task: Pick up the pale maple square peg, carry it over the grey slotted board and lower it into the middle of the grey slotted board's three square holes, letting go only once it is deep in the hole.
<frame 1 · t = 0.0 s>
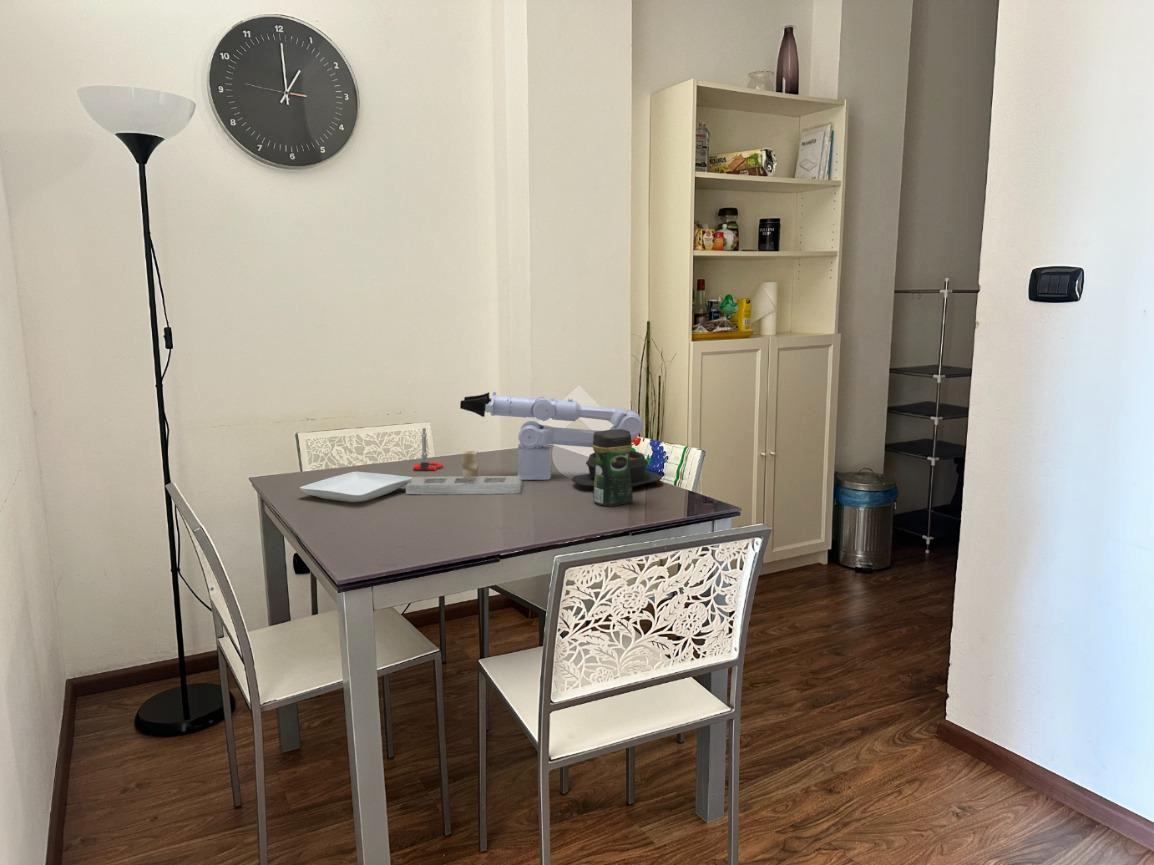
hand: (462, 402, 231), 22 cm above the table, tool horizontal, fingers open, 7 cm apart
salad plate: (357, 494, 217), on the table, touching grey slotted board
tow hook: (428, 468, 249), on the table
grey slotted board: (465, 489, 221), on the table
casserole: (616, 485, 225), on the table
coffee jar: (612, 503, 206), on the table
peg: (470, 480, 232), on the table
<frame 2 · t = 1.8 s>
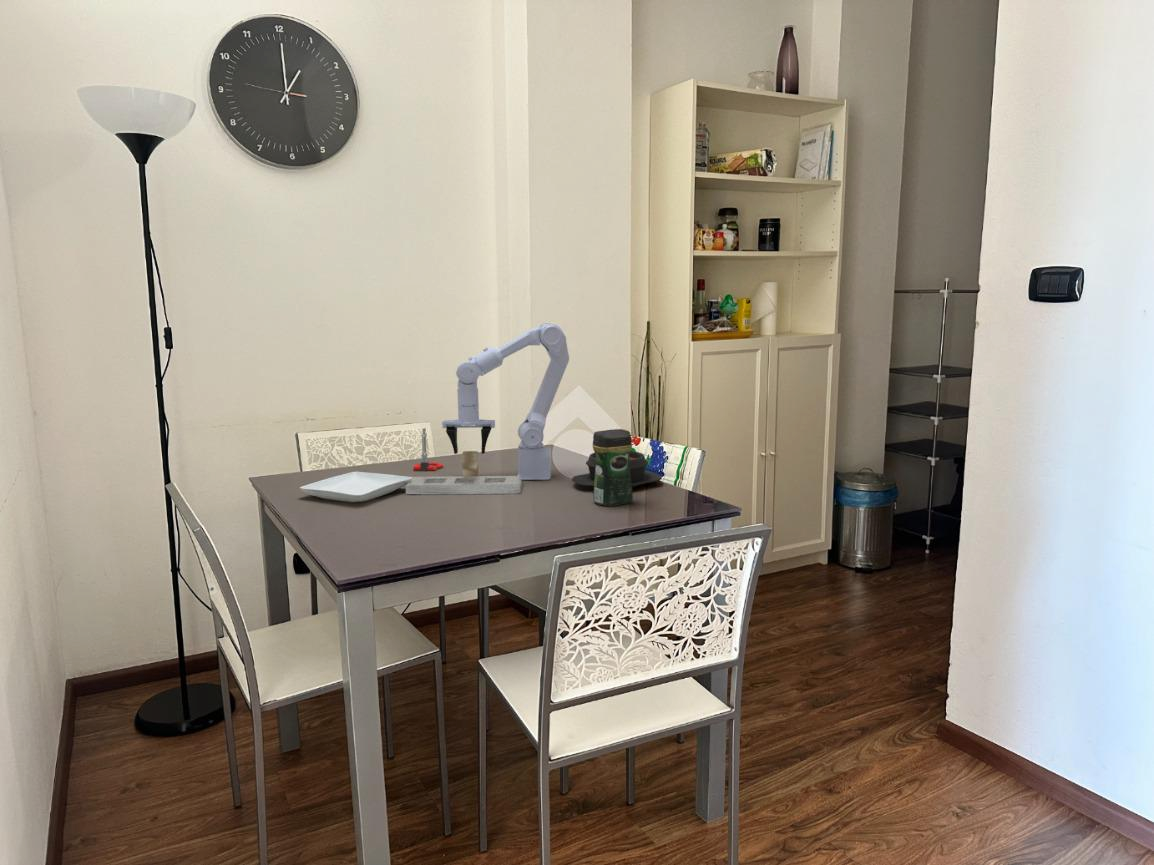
hand: (469, 453, 231), 8 cm above the table, tool pointing down, fingers open, 7 cm apart
nothing on the table moved.
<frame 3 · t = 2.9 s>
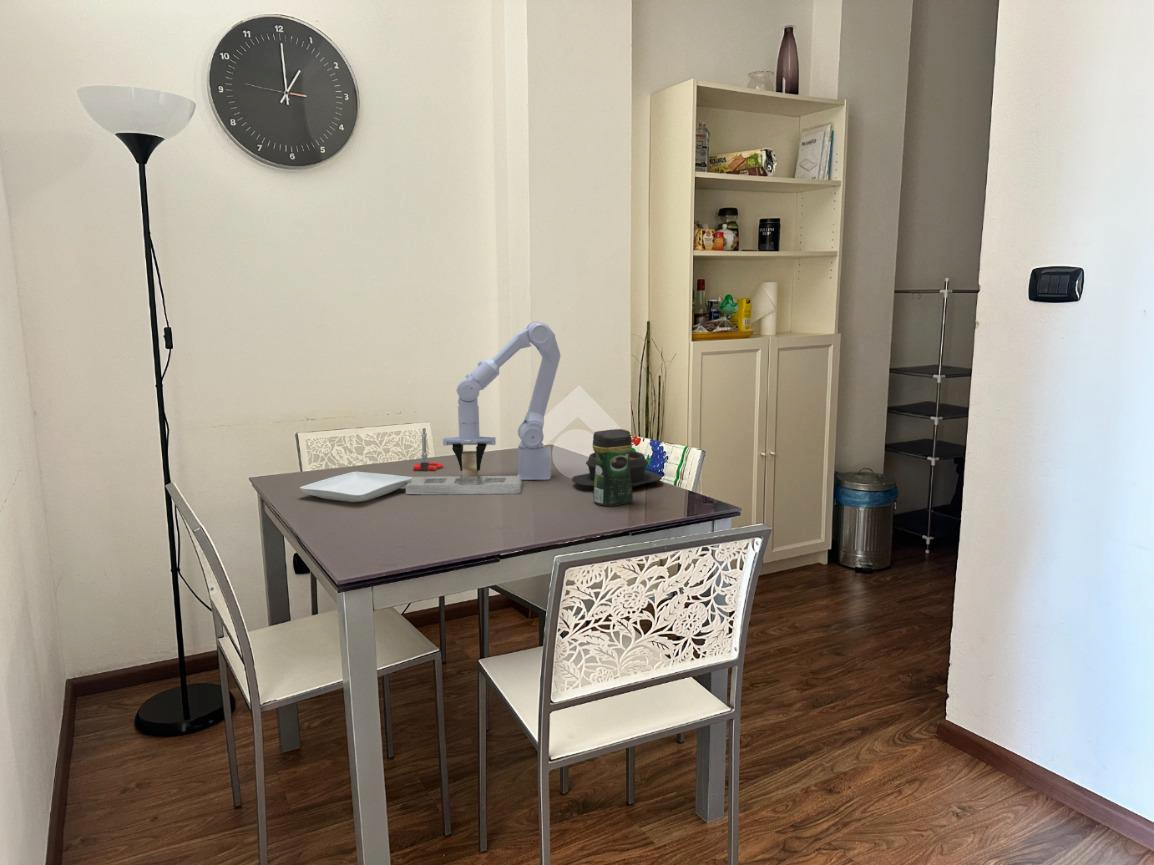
hand: (470, 470, 232), 3 cm above the table, tool pointing down, fingers closed on peg, 4 cm apart
peg: (470, 480, 232), on the table, touching gripper
everything else where it was.
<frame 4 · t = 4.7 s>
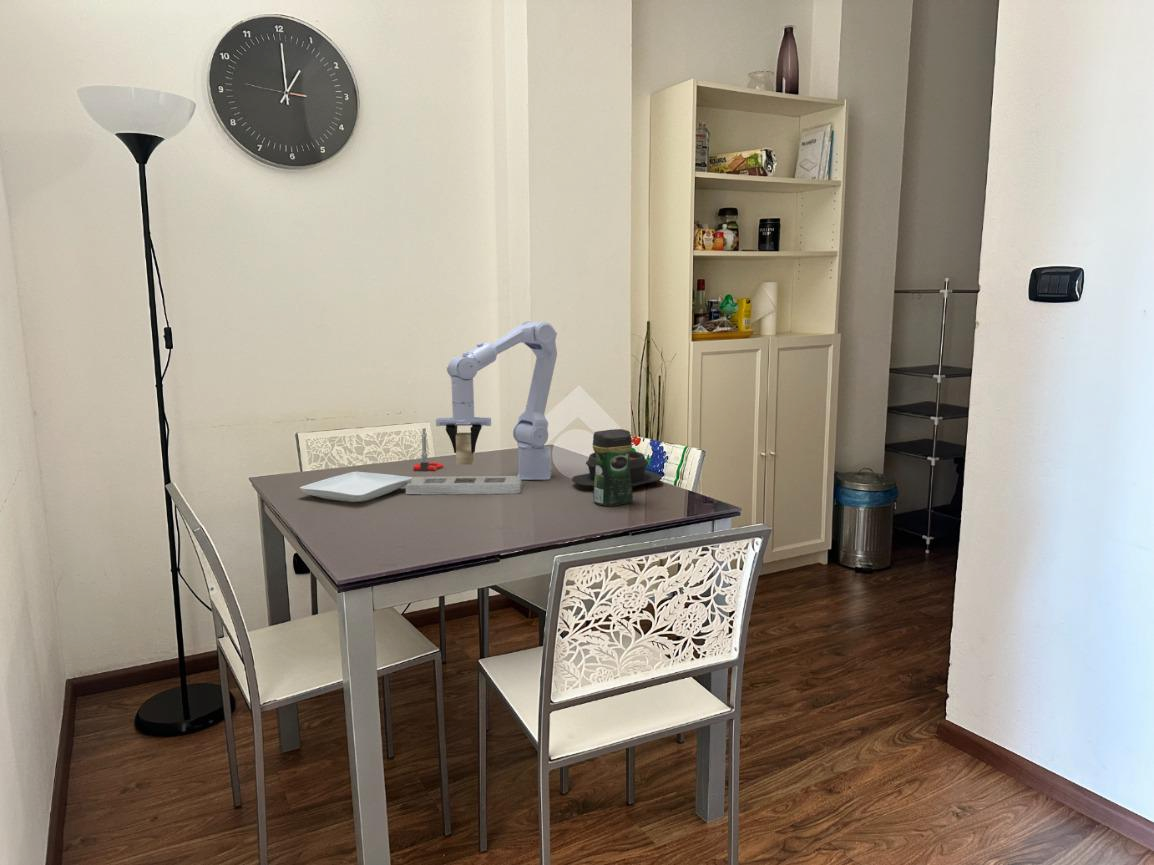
hand: (464, 452, 221), 10 cm above the table, tool pointing down, fingers closed on peg, 4 cm apart
peg: (465, 463, 222), point 7 cm above the table, touching gripper
everything else where it was.
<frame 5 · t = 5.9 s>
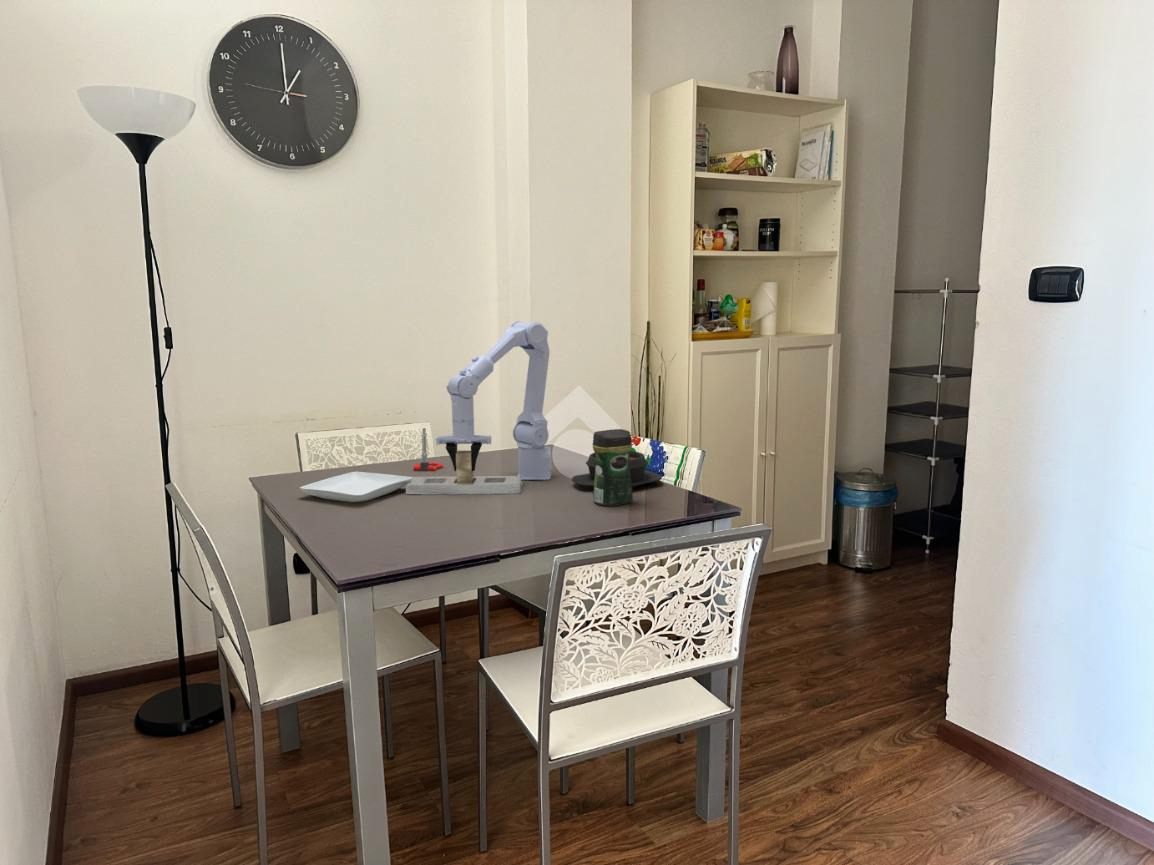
hand: (464, 470, 220), 5 cm above the table, tool pointing down, fingers closed on peg, 4 cm apart
peg: (465, 481, 221), point 2 cm above the table, touching gripper
everything else where it was.
when the fingers open (3 cm above the table, at t = 6.8 s): peg stays where it is, resting in grey slotted board.
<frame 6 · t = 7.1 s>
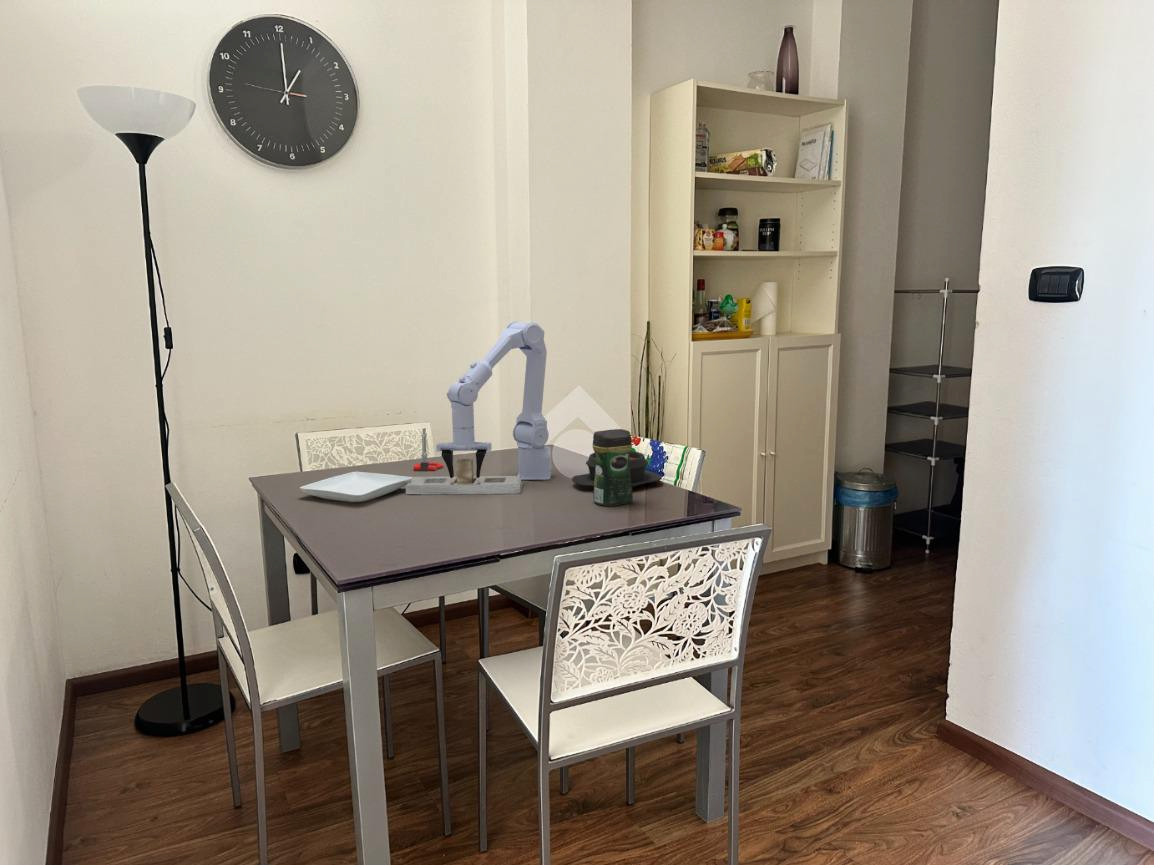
hand: (465, 477, 221), 3 cm above the table, tool pointing down, fingers open, 6 cm apart
peg: (465, 489, 221), resting in grey slotted board
everything else where it was.
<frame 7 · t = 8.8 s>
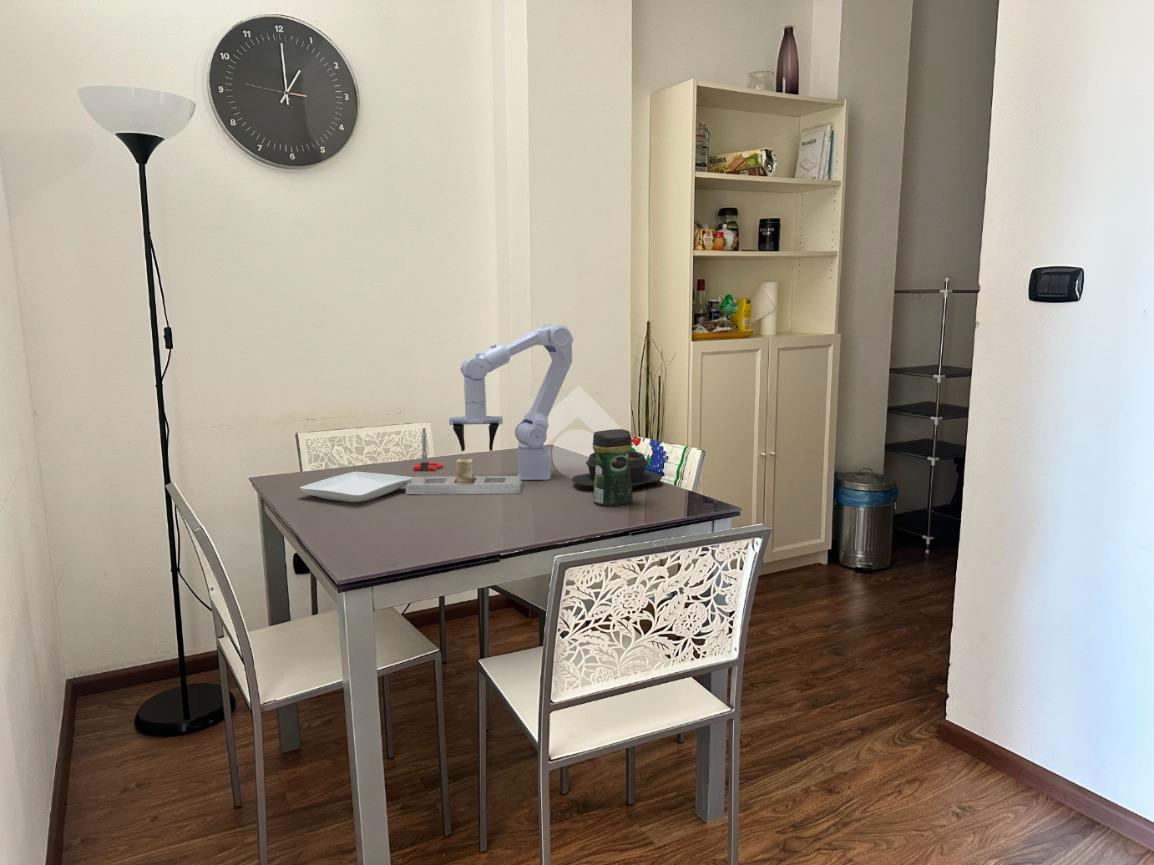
hand: (477, 450, 227), 9 cm above the table, tool pointing down, fingers open, 7 cm apart
nothing on the table moved.
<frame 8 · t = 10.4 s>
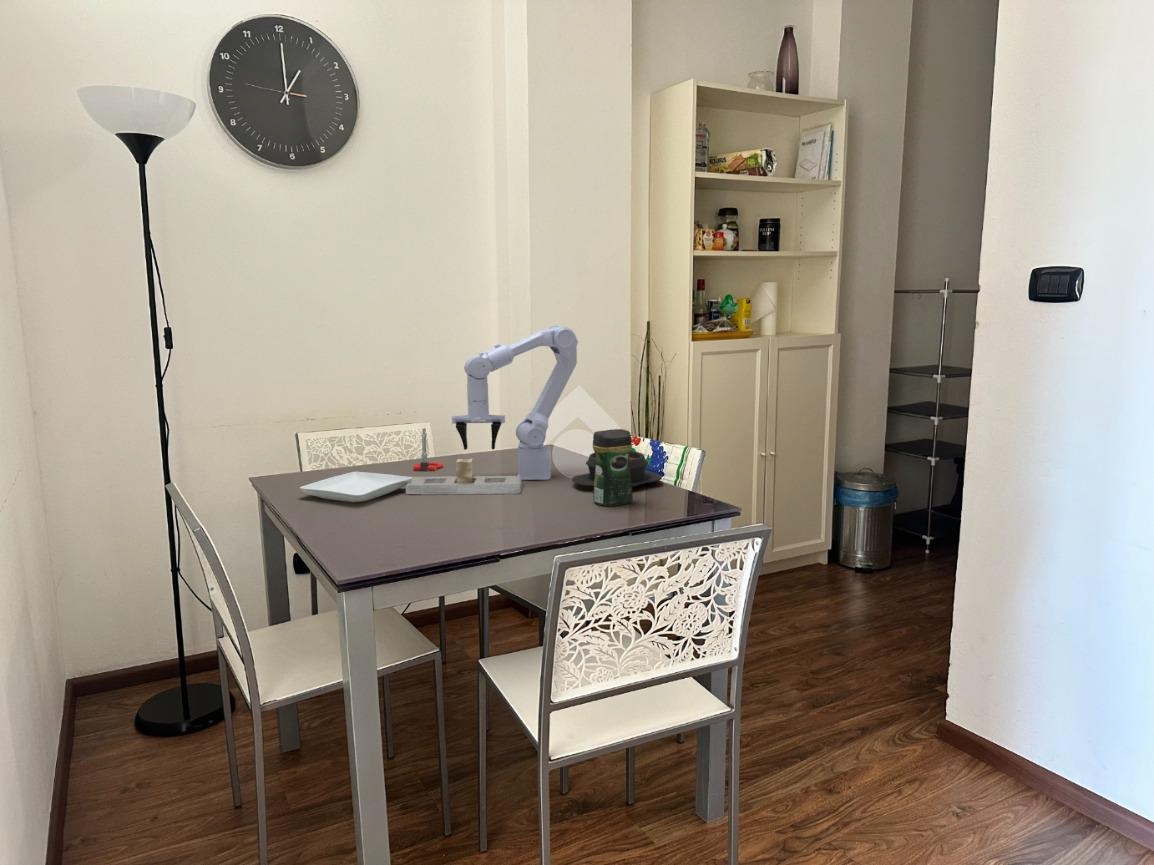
hand: (479, 448, 228), 9 cm above the table, tool pointing down, fingers open, 7 cm apart
nothing on the table moved.
at the end: peg 0.3 cm off-centre on the grey slotted board, point 0.0 cm above the grey slotted board's base; peg tilted 0°; the gripper is holding nothing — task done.
